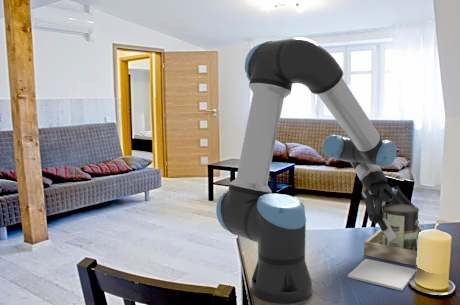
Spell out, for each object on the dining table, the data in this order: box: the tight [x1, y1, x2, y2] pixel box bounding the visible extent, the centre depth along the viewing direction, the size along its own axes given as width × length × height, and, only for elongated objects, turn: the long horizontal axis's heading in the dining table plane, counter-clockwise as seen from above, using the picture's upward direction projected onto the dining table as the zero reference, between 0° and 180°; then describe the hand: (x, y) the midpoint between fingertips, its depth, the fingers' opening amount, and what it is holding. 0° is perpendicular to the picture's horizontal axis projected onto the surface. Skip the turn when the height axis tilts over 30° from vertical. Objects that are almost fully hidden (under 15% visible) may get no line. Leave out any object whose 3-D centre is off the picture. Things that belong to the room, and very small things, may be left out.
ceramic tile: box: [347, 258, 416, 292], centre depth 115 cm, size 14×14×1 cm
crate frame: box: [363, 228, 418, 267], centre depth 131 cm, size 16×16×4 cm
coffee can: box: [381, 203, 420, 251], centre depth 130 cm, size 10×10×14 cm
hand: (406, 236), depth 128 cm, fingers closed on coffee can, 10 cm apart
